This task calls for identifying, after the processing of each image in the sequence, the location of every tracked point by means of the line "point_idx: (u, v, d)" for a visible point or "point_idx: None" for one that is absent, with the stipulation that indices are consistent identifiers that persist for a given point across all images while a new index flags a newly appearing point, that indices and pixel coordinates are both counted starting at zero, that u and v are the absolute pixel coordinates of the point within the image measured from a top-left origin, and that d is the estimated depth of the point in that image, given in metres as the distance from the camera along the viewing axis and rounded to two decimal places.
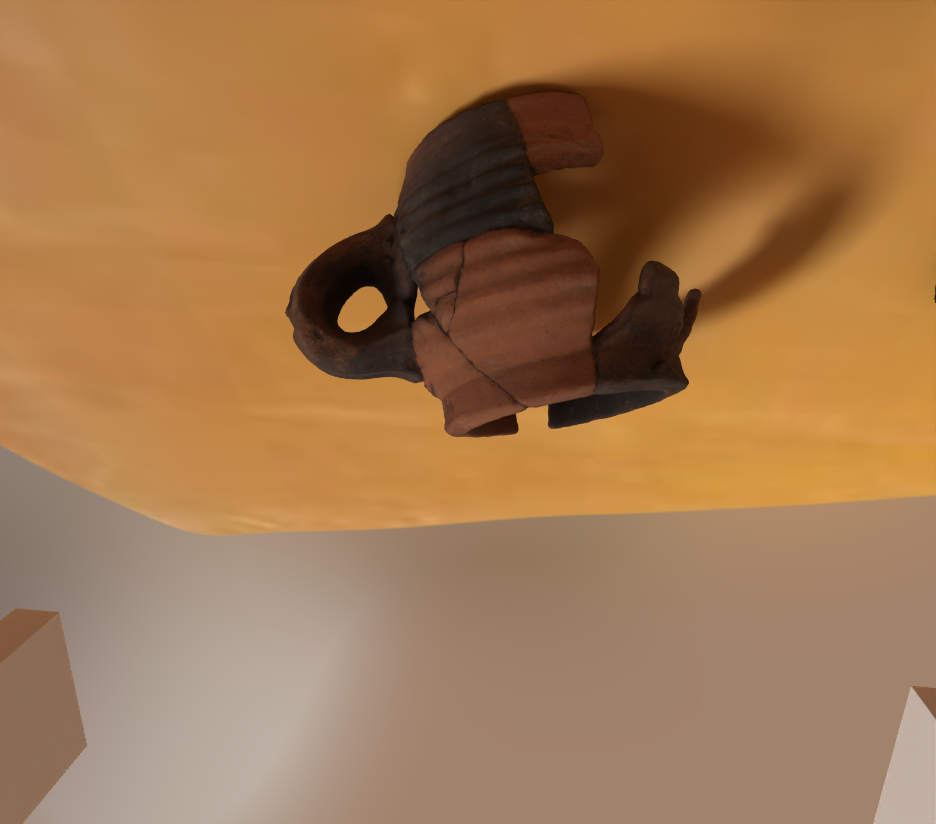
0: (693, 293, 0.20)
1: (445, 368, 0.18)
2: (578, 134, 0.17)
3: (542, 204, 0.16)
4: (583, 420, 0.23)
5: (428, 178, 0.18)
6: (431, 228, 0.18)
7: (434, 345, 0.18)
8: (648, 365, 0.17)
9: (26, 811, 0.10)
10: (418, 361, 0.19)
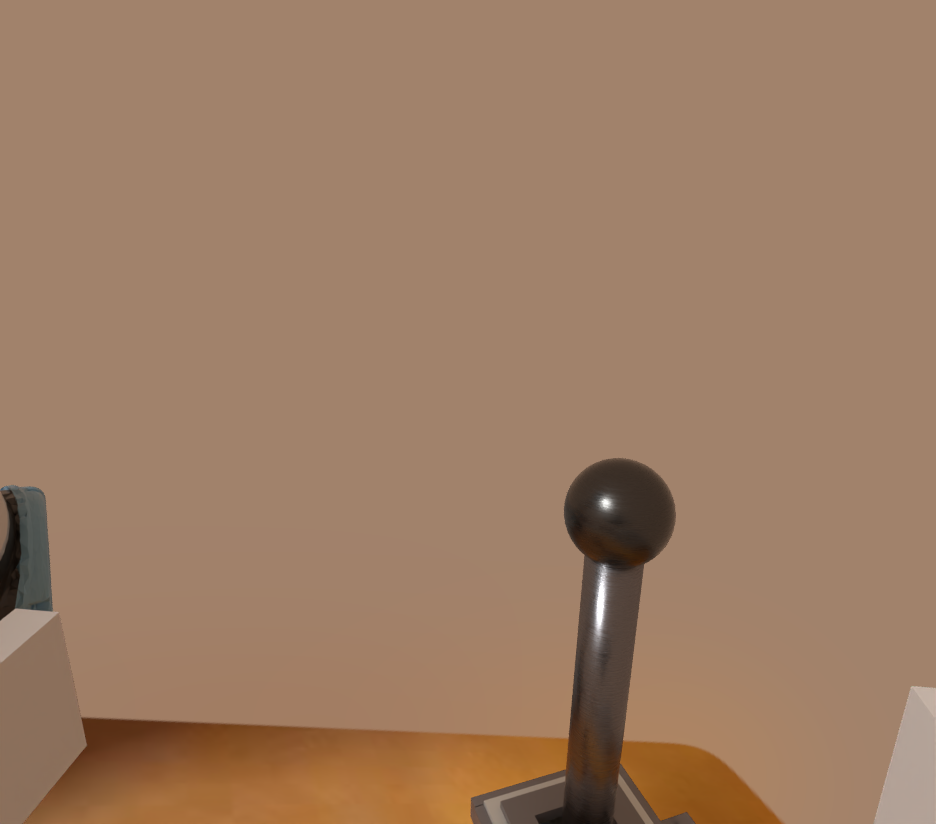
0: None
1: None
2: None
3: None
4: None
5: None
6: None
7: None
8: None
9: (26, 811, 0.10)
10: None
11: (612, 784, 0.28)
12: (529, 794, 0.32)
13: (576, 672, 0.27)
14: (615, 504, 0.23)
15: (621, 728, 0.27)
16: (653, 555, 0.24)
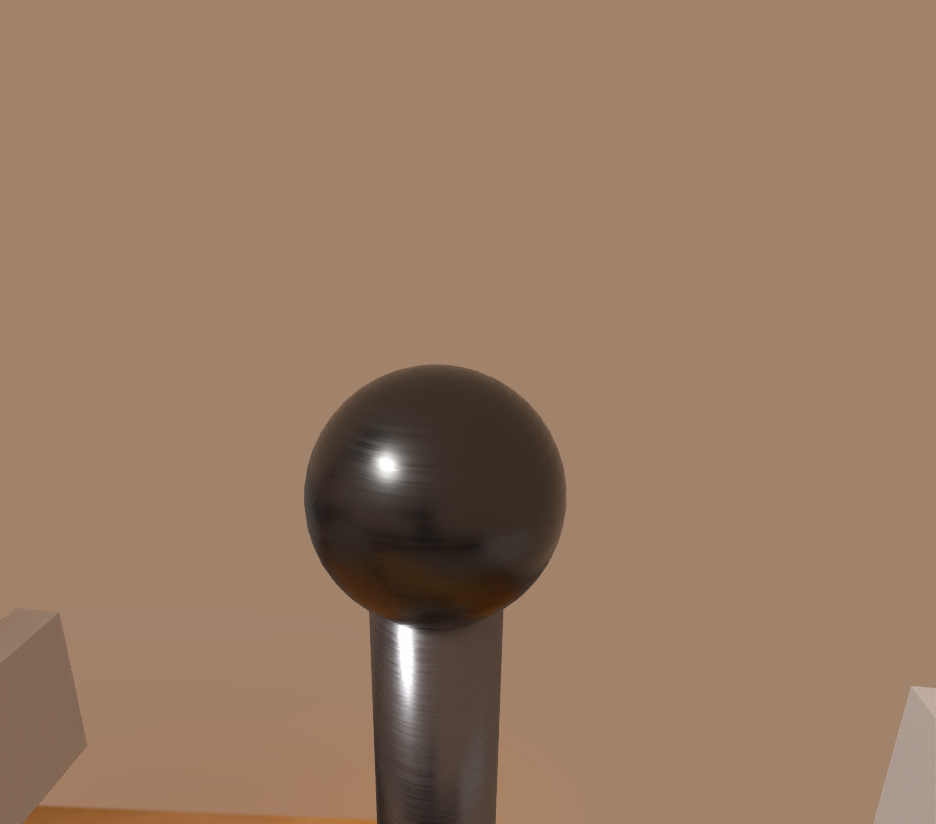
0: None
1: None
2: None
3: None
4: None
5: None
6: None
7: None
8: None
9: (26, 811, 0.10)
10: None
11: None
12: None
13: None
14: (388, 465, 0.09)
15: None
16: (502, 598, 0.09)
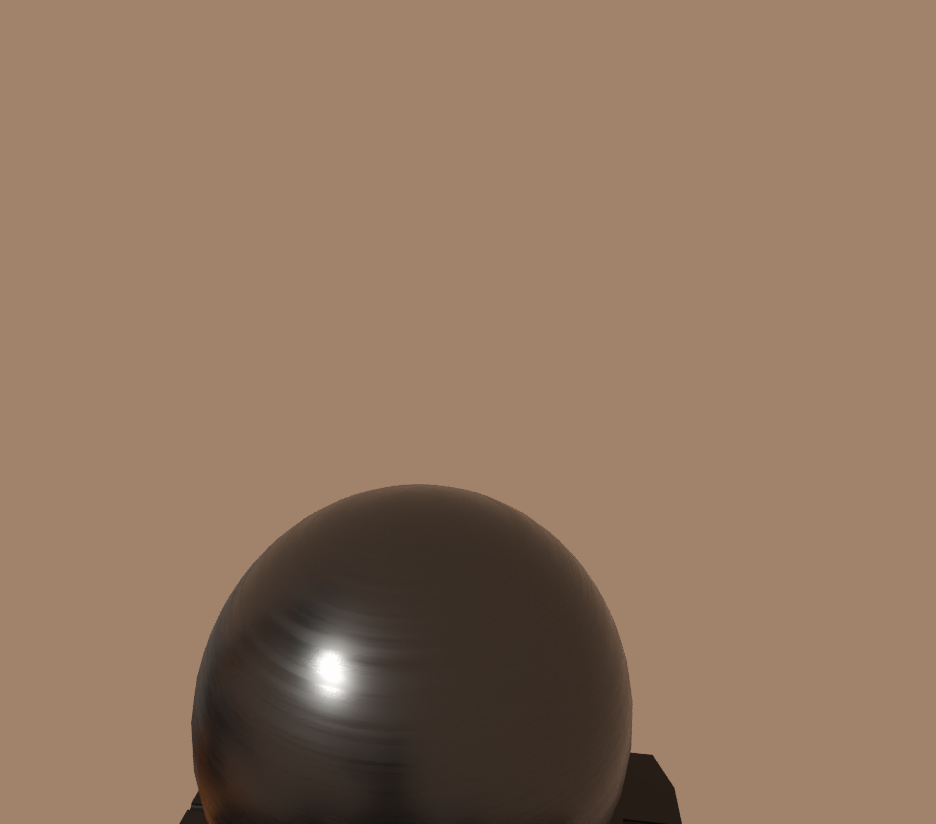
0: None
1: None
2: None
3: None
4: None
5: None
6: None
7: None
8: None
9: None
10: None
11: None
12: None
13: None
14: (320, 721, 0.05)
15: None
16: None
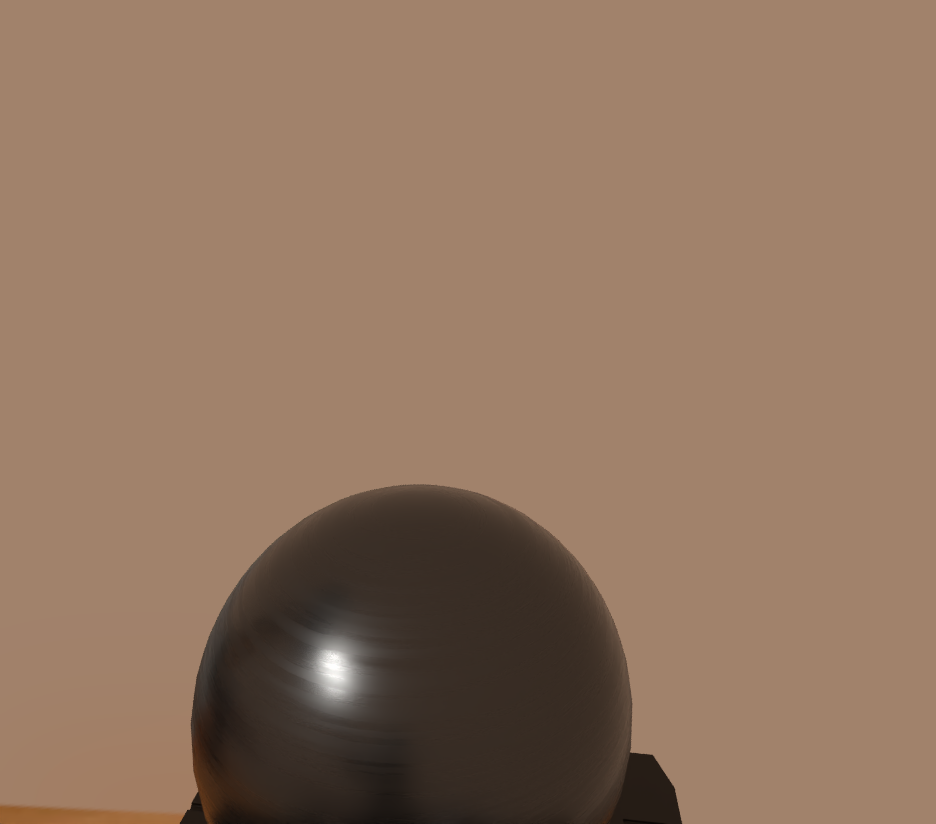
0: None
1: None
2: None
3: None
4: None
5: None
6: None
7: None
8: None
9: None
10: None
11: None
12: None
13: None
14: (318, 723, 0.05)
15: None
16: None
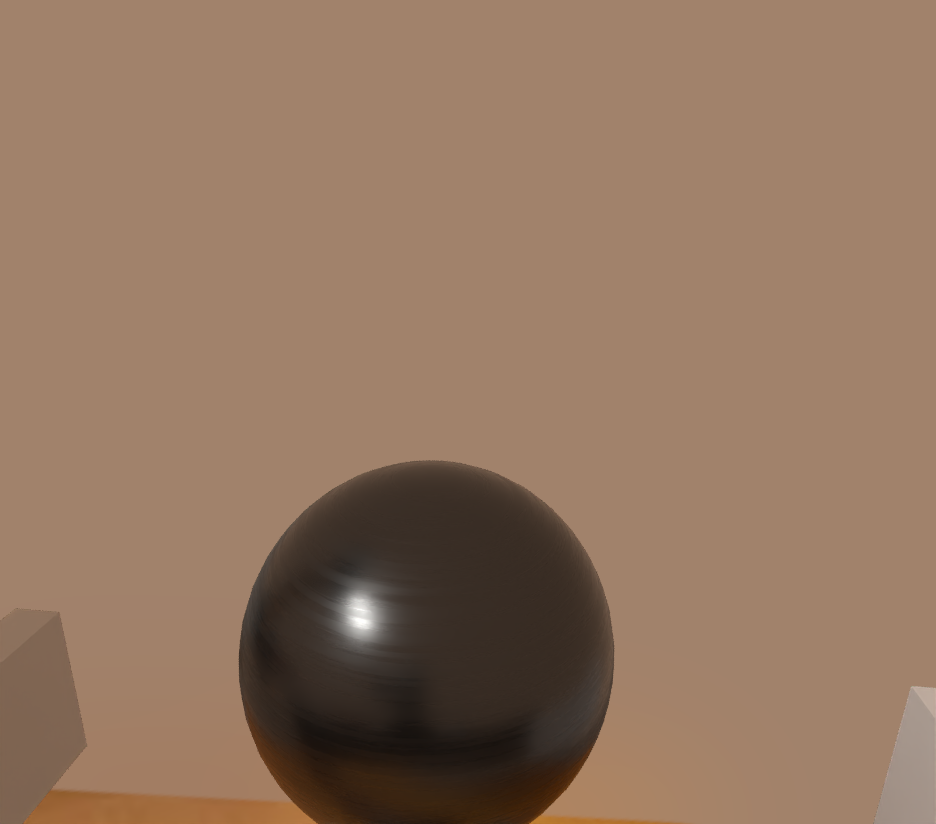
0: None
1: None
2: None
3: None
4: None
5: None
6: None
7: None
8: None
9: (26, 811, 0.10)
10: None
11: None
12: None
13: None
14: (351, 647, 0.06)
15: None
16: None
